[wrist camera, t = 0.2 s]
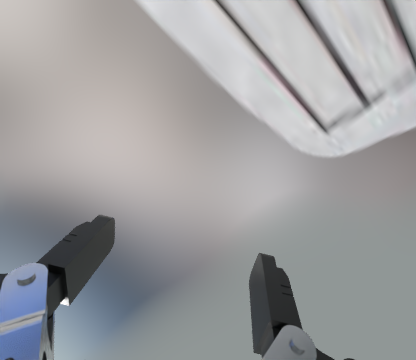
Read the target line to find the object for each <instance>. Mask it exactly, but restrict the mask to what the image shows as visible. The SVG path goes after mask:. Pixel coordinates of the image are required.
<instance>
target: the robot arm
mask: <svg viewBox="0 0 416 360" xmlns="http://www.w3.org/2000/svg"><path fill="white" fill-rule="evenodd" d="M114 235H115V220H114V218H111V217H108V216H103V215H99V216H97V217H96V218H95V219H94V220H93V221H92V222H91V223H90V222H85V223H83V224H81V225H79V226H77V227H76V228H74V229H73V230H72V231H71V232H70V233H69V235H67V236H65V238H63V240H62V241H60V242H59V243H58V244H57V245H55V246H54V247H53V248H52V249H51V250H50V251H49V252H48V253H47V254H45V255H44V256H43V257H42V258H41V259H40V260H39V261H38V262H36V263H31V264H26V265H23V266H20V267H18V268H16V269H14V270H13V271H11V272H10V273H9V274H0V360H54V323H55V310H56V308H57V307H58V306H59V304H64V305H68V306H70V304H71V303H72V302H73V300H74V299H75V298H76V296H77V295H78V294H79V292H80V291H81V290H82V288H83V287H84V286H85V284H86V283H87V282H88V280H89V279H90V278H91V276H92V275H93V274H94V272H95V271H96V269H97V268H98V267H99V266H100V264H101V263H102V262H103V260H104V259H105V257H106V256H107V255H108V254H109V252H110V251H111V249H112V247H113V244H114V237H115V236H114ZM249 289H250V303H251V319H252V334H253V349H254V353H257V354H261V355H262V360H334V359H333V358H331V357H329V356H327V355H326V354H324V353H322V352H321V351H319V350H318V349H317V348H316V347H315V345H314V343H313V341H312V339H311V338H310V337H309V336H308V334H307V333H305V332H304V331H303V329H302V326H301V322H300V319H299V315H298V311H297V307H296V304H295V300H294V297H293V293H292V289H291V285H290V282H289V278H288V276H287V275H286V273H285V272H284V271H283V269H282V268H277V267H276V262H275V258H274V257H273V256H270V255H266V254H262V253H259V254H258V256H257V259H256V261H255V264H254V266H253V269H252V271H251V275H250V280H249ZM344 360H354V359H350V358H347V359H344Z"/></svg>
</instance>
